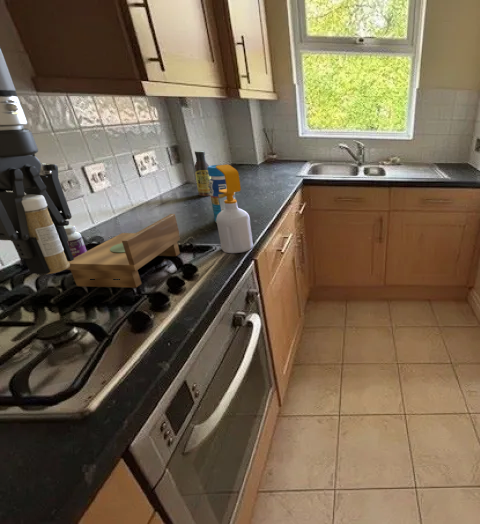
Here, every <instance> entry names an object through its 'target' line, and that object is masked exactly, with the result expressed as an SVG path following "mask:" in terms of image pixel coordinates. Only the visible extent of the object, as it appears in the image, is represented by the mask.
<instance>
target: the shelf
mask: <svg viewBox="0 0 480 524" xmlns="http://www.w3.org/2000/svg"><path fill="white" fill-rule="evenodd" d="M179 241H181V238H180V230H179V225H178V222H177V217H176V214H175V213H170V214H168V215H166V216H164V217H162V218H161V219H159V220H156V221H155V222H153V223H151V224H150V225H148V226H146V227H144V228H142V229H141V230H139V231H137V232H121V233H119V234H118V235H115V236H114V237H111V238H110V239H108V240H106V241H104V242H102V243H100V244H98V245H96V246H94V247H91V248H90V249H89V250H87V252H85V253H83V254H81V255H79V256H77V257H75V258H74V260H72V261H68V262H69V263H70V266H69V268H67V269H65V270H67V271H70V272H71V275H72V277H73V278H72V279H73V280H74V283H75V284H76V287H91V288H92V287H93V288H95V287H97V288H135V289H136V288H138V287H139V286H141V285H142V280H141V277H140V274H139V271H138V270H139V269H141V268H142V267H144V266H145V265H147V264H148V263H150V262H151V261H152V260H154V259H155V258H157V257H177V256H179V255H181V251H180V247H179V243H178V242H179ZM90 279H95V280H90ZM113 279H120V280H113Z"/></svg>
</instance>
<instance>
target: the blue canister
mask: <svg viewBox="0 0 480 524" xmlns="http://www.w3.org/2000/svg"><path fill="white" fill-rule="evenodd" d="M218 165H219V164H212V165H211V164H210V165H209V166H208V168H207V169H208V174H209V176H210V177H211V179H210V181H209V185H208V187H209V189H210V192H209V194H210V196H209V197H210V202H211V207H212V212H213V219H214V222H215V223H216V224H217V221H216V218H217V215H218V214H219V213H220V212H221V211H222V210H224V209H225V202H224V200H227V196H225V195H224V193H221V192H219V190H222V189H227V187H226V181H225V176H224V174H223V173H222V172H221V171H219V170H218V169H217V168H216V166H218ZM234 194H235V195H233V199H236V192H234Z"/></svg>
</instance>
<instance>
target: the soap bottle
mask: <svg viewBox="0 0 480 524" xmlns="http://www.w3.org/2000/svg"><path fill="white" fill-rule="evenodd" d="M217 165H218V166H216V168H217V169H218V170H219V171H221V172H222V173H223V174H224V176H225V181H226V187H227V189H222V190H219V192H221V193H224V195H225V196H227V200H224V202H225V209H224V210H222V211H221V212H220V213H219V214H218V215H217V218H216V221H217V223H216V225H217V231H218V237H219V242H220V243H219V244H220V248H221V250H222V251H223V252H224V253H227V254H242V253H245V252H247V251H250V250H252V249H253V247H254V241H253V240H254V239H253V234H252V233H253V232H252V227H251V218H250V215H249V213H248V211H246V210H244V209H242V208H240V207H238V202H237V198H235V199H233V195H235V196H236V193H237V192H238V193H239V192H241V190H242V188H241V181H240V180H241V179H240V173H239V171H238V170H237V169H236V168H235V167H233V166H232V165H230V164H217ZM234 192H235V194H234Z"/></svg>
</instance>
